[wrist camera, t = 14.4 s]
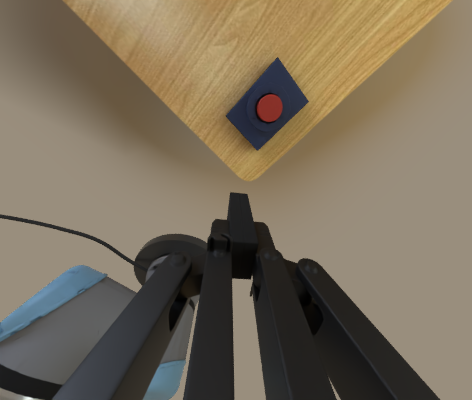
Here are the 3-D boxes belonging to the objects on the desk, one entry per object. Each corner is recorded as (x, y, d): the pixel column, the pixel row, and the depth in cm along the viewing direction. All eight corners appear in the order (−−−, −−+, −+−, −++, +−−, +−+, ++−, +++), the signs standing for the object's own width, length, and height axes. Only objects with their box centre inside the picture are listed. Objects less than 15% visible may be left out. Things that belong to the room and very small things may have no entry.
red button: (266, 126, 28) (268, 127, 27) (251, 108, 27) (253, 108, 26) (284, 108, 27) (287, 108, 26) (269, 89, 26) (272, 87, 24)
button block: (256, 148, 33) (259, 153, 30) (225, 115, 31) (225, 116, 27) (303, 102, 30) (313, 101, 26) (274, 60, 27) (280, 53, 24)
